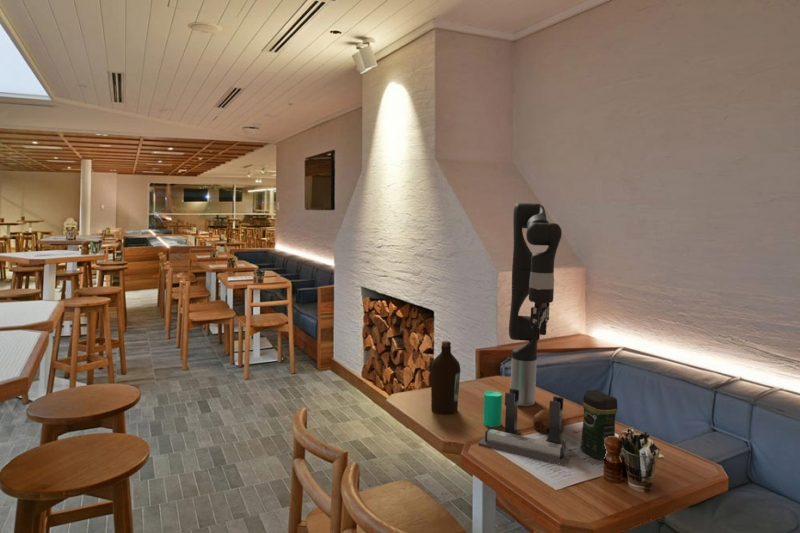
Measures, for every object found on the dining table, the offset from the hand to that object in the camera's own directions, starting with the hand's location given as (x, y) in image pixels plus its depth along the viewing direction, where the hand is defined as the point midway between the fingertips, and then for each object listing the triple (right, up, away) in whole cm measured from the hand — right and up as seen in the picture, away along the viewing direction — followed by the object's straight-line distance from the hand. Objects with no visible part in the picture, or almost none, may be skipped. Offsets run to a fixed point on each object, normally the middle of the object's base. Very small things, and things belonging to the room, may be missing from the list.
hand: (539, 337), depth 165 cm
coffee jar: (+15, -34, -9) cm, 38 cm away
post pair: (-2, -32, 0) cm, 32 cm away
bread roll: (+5, -32, +9) cm, 34 cm away
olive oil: (-28, -30, +24) cm, 47 cm away
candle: (-13, -31, +12) cm, 36 cm away
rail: (-7, -32, -8) cm, 34 cm away
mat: (-7, -33, -8) cm, 35 cm away
